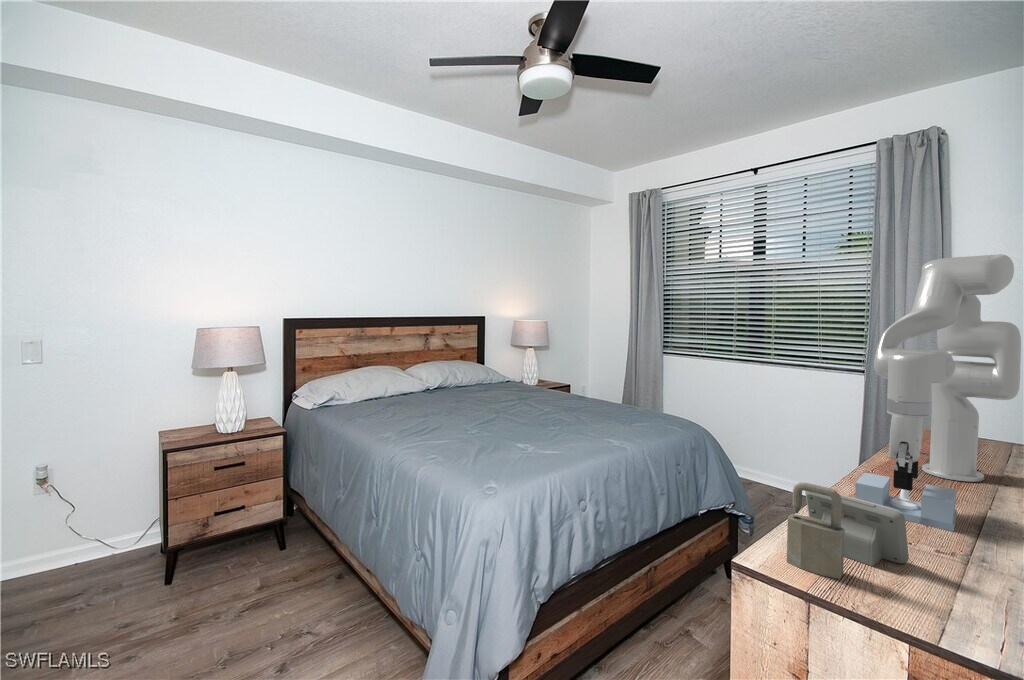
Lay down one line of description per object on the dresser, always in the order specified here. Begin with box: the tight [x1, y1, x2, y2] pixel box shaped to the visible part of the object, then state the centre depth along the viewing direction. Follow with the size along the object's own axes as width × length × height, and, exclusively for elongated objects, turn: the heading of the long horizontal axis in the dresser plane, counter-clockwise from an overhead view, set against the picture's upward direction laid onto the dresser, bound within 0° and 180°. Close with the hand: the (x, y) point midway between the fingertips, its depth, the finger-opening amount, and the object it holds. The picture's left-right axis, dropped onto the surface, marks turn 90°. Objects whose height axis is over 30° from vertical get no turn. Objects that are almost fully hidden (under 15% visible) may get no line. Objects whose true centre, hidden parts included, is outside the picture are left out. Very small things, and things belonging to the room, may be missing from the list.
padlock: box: [786, 481, 845, 580], centre depth 84 cm, size 4×8×15 cm, turn 44°
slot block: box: [854, 472, 958, 533], centre depth 107 cm, size 10×17×6 cm, turn 44°
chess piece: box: [890, 462, 918, 510], centre depth 107 cm, size 5×5×10 cm
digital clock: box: [805, 491, 910, 567], centre depth 90 cm, size 16×9×11 cm, turn 24°
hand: (905, 482), depth 107 cm, fingers open, 9 cm apart
